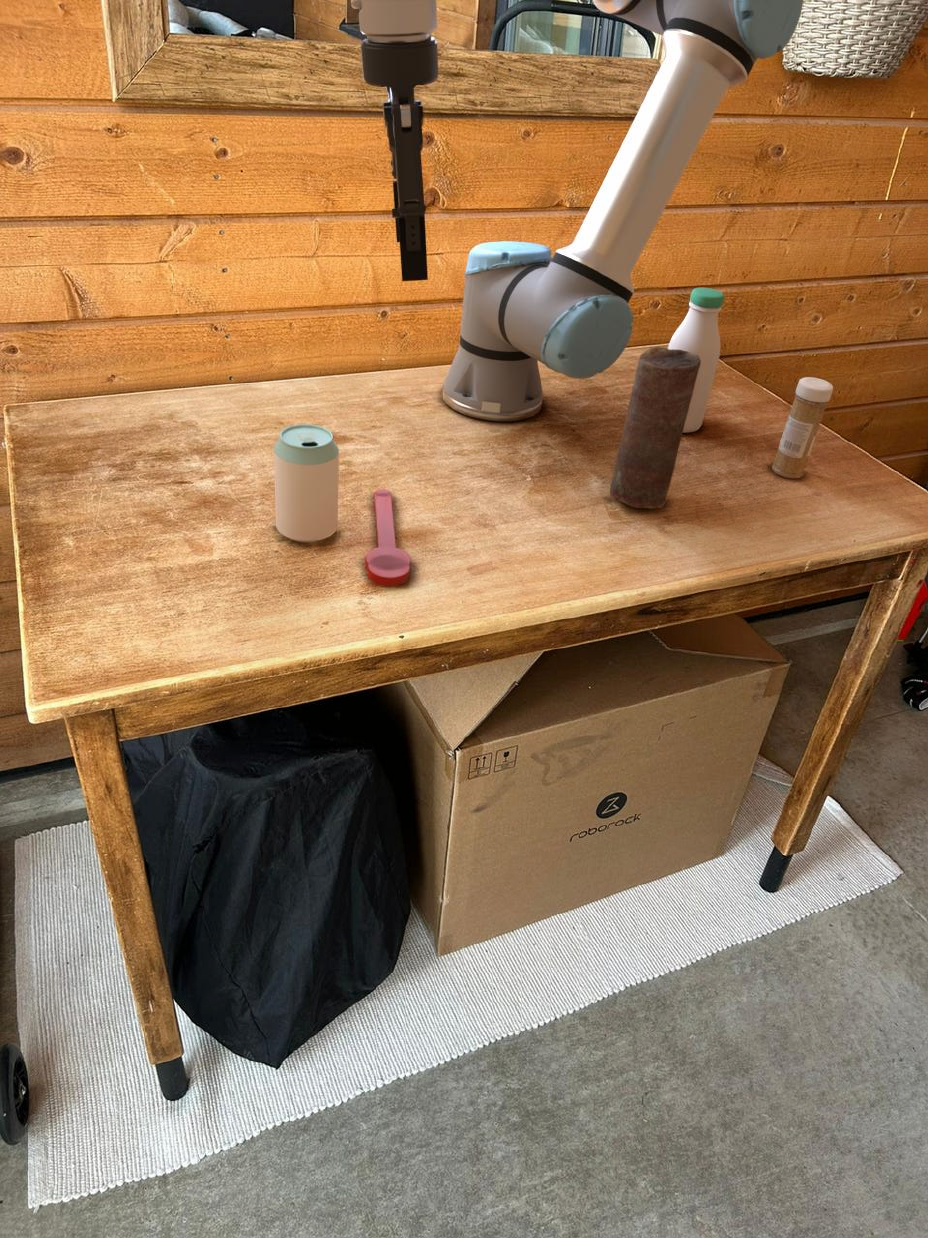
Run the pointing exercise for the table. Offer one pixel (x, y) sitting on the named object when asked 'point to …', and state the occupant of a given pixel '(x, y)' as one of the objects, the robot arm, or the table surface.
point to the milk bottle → (700, 348)
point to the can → (306, 483)
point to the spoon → (386, 547)
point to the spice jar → (802, 427)
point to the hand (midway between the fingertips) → (411, 259)
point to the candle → (654, 426)
